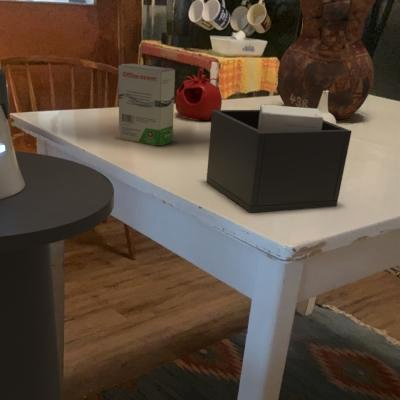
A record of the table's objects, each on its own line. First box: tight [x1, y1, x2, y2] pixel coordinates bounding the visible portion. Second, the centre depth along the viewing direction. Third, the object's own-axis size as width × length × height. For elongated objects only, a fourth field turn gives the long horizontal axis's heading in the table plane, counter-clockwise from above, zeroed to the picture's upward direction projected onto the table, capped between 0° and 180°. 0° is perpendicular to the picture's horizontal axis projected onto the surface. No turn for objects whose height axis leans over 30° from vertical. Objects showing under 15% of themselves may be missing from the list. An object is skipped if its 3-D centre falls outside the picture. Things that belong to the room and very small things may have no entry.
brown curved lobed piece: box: [277, 0, 377, 120], centre depth 134 cm, size 22×21×25 cm
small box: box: [258, 104, 323, 132], centre depth 82 cm, size 8×6×10 cm
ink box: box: [117, 63, 176, 147], centre depth 104 cm, size 9×5×12 cm, turn 62°
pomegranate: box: [174, 68, 223, 121], centre depth 124 cm, size 10×10×9 cm
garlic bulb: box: [317, 90, 337, 125], centre depth 121 cm, size 6×6×8 cm
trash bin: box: [205, 109, 353, 214], centre depth 83 cm, size 14×14×10 cm
